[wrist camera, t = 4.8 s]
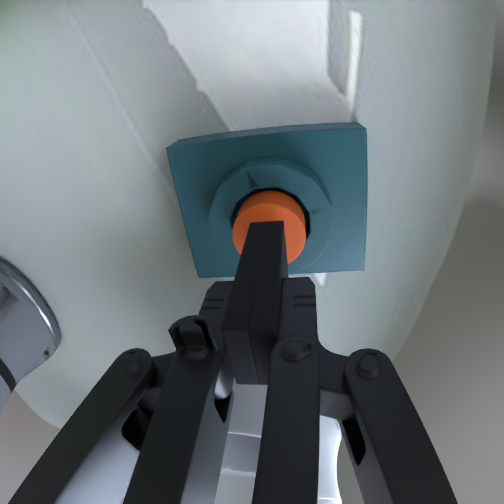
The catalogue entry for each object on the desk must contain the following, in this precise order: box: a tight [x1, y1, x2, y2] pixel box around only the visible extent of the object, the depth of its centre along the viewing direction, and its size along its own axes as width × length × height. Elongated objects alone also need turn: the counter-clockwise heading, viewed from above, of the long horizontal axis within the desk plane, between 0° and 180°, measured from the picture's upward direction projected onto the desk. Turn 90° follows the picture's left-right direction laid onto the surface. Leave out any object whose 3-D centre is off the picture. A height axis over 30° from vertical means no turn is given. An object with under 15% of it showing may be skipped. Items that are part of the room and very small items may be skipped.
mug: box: [221, 376, 267, 473], centre depth 23 cm, size 12×8×11 cm
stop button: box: [232, 191, 306, 263], centre depth 16 cm, size 4×4×2 cm
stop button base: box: [166, 122, 367, 278], centre depth 18 cm, size 11×9×4 cm
